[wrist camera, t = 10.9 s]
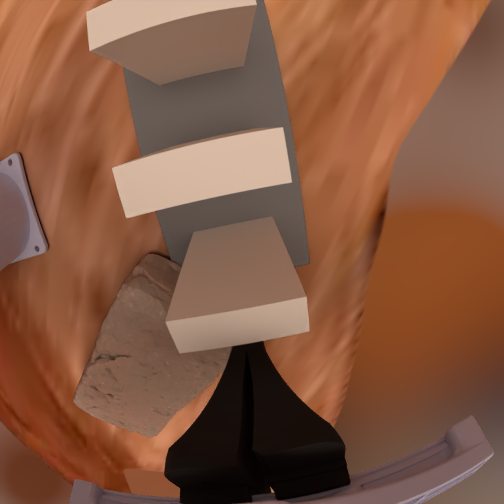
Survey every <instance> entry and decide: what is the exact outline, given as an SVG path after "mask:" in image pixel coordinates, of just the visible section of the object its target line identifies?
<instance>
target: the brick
mask: <svg viewBox="0 0 504 504" xmlns="http://www.w3.org/2000/svg"><path fill="white" fill-rule="evenodd" d="M180 271H181V267H180V266H179V265H177V264H176V263H174V262H172V261H170V260H168V259H166V258H164V257H161V256H159V255H155V254H147V255H146V256H145V257H144V258H143V259H141V260H140V262H139V263H138V264H137V265H136V266H135V267H134V270H133V272H132V274H131V275H129V277H128V278H127V279H126V280H125V282H124V284H123V285H122V287H121V289H120V290H119V293H118V295H117V297H116V299H115V300H114V302H113V304H112V306H111V308H110V310H109V312H108V314H107V316H106V317H105V319H104V321H103V324H102V327H101V330H100V334H99V336H98V337H97V341H96V347H95V348H94V350H93V353H92V356H91V358H90V359H89V360H88V363H87V365H86V367H85V369H84V371H83V374H82V377H81V379H80V381H79V384H78V386H77V389H76V392H75V395H74V401H73V402H74V403H75V404H76V405H77V406H78V407H79V408H81V409H82V410H84V411H85V412H87V413H89V414H90V415H91V416H94V417H96V418H98V419H101V420H103V421H105V422H109V423H110V424H112V425H114V426H117V427H122V428H124V429H126V430H129V431H131V432H137V433H139V434H141V435H144V436H147V437H148V438H152V437H153V436H156V435H158V434H159V433H160V431H161V430H162V429H163V428H164V427H165V425H166V424H167V423H168V422H169V420H170V419H171V418H173V416H174V415H175V413H176V412H177V411H179V410H181V409H182V408H183V407H185V406H186V405H187V404H189V403H190V402H191V401H192V400H193V399H194V398H195V397H196V396H197V395H199V394H200V393H201V392H202V391H204V390H205V389H206V388H207V387H208V386H209V385H211V384H212V383H213V382H214V381H215V380H216V378H217V377H218V375H219V373H223V372H224V369H225V367H226V364H227V361H228V359H229V355H230V352H231V349H232V346H230V347H224V348H217V349H210V350H203V351H195V352H187V353H179V351H178V349H177V347H176V345H175V343H174V340H173V338H172V336H171V334H170V332H169V329H168V327H167V325H166V323H165V321H166V317H167V314H168V310H169V307H170V304H171V300H172V297H173V294H174V291H175V287H176V284H177V281H178V278H179V275H180Z"/></svg>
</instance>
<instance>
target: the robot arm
mask: <svg viewBox="0 0 504 504" xmlns="http://www.w3.org/2000/svg"><path fill="white" fill-rule="evenodd" d="M11 160H12V163H11ZM37 246H38V247H39V249H38V248H37ZM47 250H48V244H47V242H46V239H45V236H44V234H43V231H42V228H41V225H40V222H39V219H38V217H37V214H36V210H35V207H34V204H33V201H32V198H31V194H30V191H29V187H28V183H27V180H26V176H25V172H24V168H23V164H22V159H21V156H20V154H19V153H13V154H12V155H10V156H9V157H7V158H5V159H4V160H2V161H1V162H0V271H1V270H2V269H4V268H5V267H6V266H7V265H8V264H11V263H14V262H17V261H20V260H23V259H27V258H30V257H33V256H36V255H39V254H43V253H45V252H46V251H47ZM493 454H494V452H493V450H492V448H491V446H490V445H489V443H488V441H487V439H486V437H485V436H484V434H483V432H482V430H481V429H480V427H479V426H478V424H477V422H476V420H475V419H474V417H473V416H469V417H468V418H466V419H465V420H463V421H461V422H459V423H458V424H456V425H454V426H453V427H451V428H450V429H449V430H448V431H447V432H446V434H445V436H444V437H442V438H441V439H439V440H437V441H435V442H433V443H431V444H429V445H427V446H425V447H423V448H421V449H419V450H416V451H414V452H412V453H410V454H408V455H405V456H403V457H400V458H398V459H396V460H393V461H391V462H388V463H386V464H383V465H380V466H378V467H375V468H372V469H369V470H366V471H363V472H360V473H357V474H354V475H351V476H349V473H348V470H347V463H346V460H345V444H344V442H343V440H342V439H341V437H340V436H339V434H338V433H337V432H336V431H335V429H334V428H333V427H332V425H331V424H330V423H328V422H327V421H325V420H324V419H323V418H321V417H320V416H319V415H317V414H316V413H315V412H314V411H313V410H311V409H310V408H309V407H308V406H307V405H306V404H305V403H304V402H303V401H302V400H301V399H300V398H299V397H298V396H297V395H296V394H295V393H294V392H293V391H292V390H291V388H290V387H289V386H288V385H287V384H286V382H285V381H284V380H283V378H282V377H281V376H280V374H279V373H278V371H277V370H276V368H275V367H274V365H273V363H272V361H271V360H270V358H269V356H268V354H267V352H266V349H265V346H264V342H263V341H259V342H254V343H248V344H242V345H236V346H232V349H231V352H230V355H229V359H228V361H227V364H226V367H225V369H224V372H223V374H222V377H221V379H220V381H219V383H218V385H217V387H216V389H215V391H214V393H213V395H212V397H211V399H210V400H209V402H208V403H207V405H206V407H205V408H204V410H203V411H202V412H201V414H200V415H199V417H198V418H197V419H196V421H195V422H194V423H193V424H192V425H191V426H190V428H189V429H188V430H187V431H186V432H185V433H184V434H183V435H182V436H181V437H180V438H179V439H178V440H177V441H176V442H175V443H174V444H173V445H172V446H171V447H170V448H169V449H168V453H167V457H166V462H165V471H164V475H165V477H166V478H167V479H168V480H169V481H170V482H172V483H173V484H175V485H176V486H178V487H179V488H180V498H170V497H156V496H145V495H137V494H129V493H122V492H116V491H110V490H105V489H102V488H101V487H100V486H98V485H96V484H94V483H91V482H87V481H83V480H79V479H75V481H74V485H73V489H72V493H71V498H70V502H69V504H421V503H423V502H425V501H427V500H429V499H430V498H432V497H434V496H436V495H438V494H440V493H441V492H443V491H445V490H447V489H449V488H450V487H452V486H454V485H455V484H457V483H459V482H460V481H462V480H463V479H465V478H467V477H468V476H470V475H471V474H473V473H474V472H475V471H476V470H477V469H478V468H480V467H481V466H482V465H483V464H484V463H485V462H486V461H487V460H488V459H489V458H490V457H491V456H493ZM270 487H271V488H272V489H273V491H274V492H275V493H271V488H270Z"/></svg>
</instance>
